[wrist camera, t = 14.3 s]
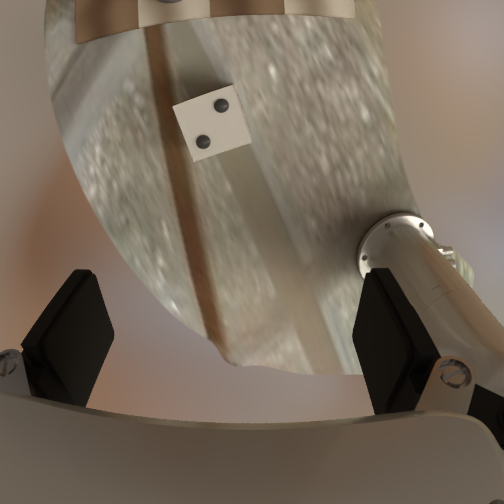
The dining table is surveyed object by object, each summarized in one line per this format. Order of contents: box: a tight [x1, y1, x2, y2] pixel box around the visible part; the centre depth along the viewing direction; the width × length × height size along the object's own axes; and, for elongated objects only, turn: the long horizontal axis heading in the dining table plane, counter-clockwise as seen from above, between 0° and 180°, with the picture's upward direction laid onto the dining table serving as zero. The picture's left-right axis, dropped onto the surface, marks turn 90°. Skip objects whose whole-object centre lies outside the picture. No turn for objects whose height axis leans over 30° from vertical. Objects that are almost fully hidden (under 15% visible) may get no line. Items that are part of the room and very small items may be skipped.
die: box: [173, 84, 252, 162], centre depth 31 cm, size 6×6×6 cm
